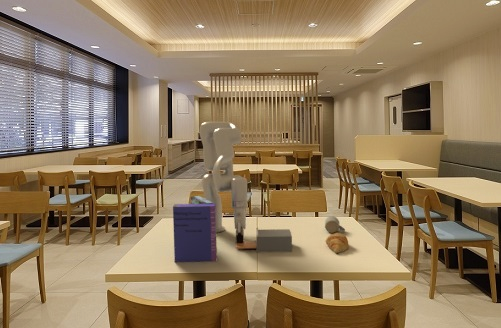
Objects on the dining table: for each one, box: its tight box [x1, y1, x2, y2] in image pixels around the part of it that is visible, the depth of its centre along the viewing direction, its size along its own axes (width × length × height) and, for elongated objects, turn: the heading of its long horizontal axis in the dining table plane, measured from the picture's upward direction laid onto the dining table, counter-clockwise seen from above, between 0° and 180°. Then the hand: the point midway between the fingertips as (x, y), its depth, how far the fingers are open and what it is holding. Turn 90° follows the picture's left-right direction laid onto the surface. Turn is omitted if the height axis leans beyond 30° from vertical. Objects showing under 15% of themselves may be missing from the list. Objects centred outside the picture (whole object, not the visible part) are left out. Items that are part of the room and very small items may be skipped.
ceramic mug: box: [324, 215, 346, 234], centre depth 198 cm, size 11×8×8 cm
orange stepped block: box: [235, 229, 257, 249], centre depth 173 cm, size 16×8×8 cm, turn 89°
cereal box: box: [172, 203, 218, 263], centre depth 157 cm, size 17×5×24 cm, turn 91°
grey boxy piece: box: [256, 227, 293, 253], centre depth 173 cm, size 16×12×8 cm
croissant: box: [325, 232, 349, 254], centre depth 172 cm, size 21×10×8 cm, turn 167°
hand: (239, 242), depth 173 cm, fingers closed on orange stepped block
